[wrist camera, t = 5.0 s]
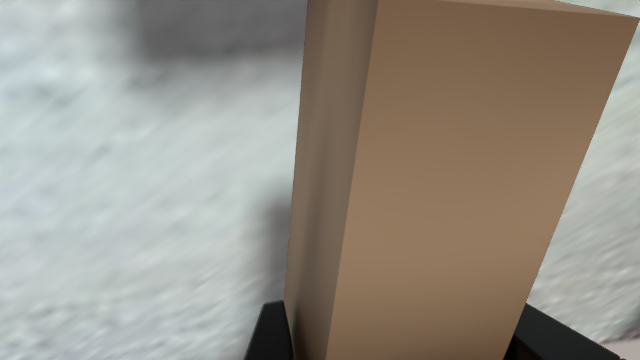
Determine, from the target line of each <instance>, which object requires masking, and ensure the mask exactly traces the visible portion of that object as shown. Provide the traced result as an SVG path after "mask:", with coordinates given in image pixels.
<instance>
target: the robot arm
mask: <svg viewBox="0 0 640 360" xmlns="http://www.w3.org/2000/svg"><path fill="white" fill-rule="evenodd" d="M243 360H295V359H294V352H293V345H292V338H291V333H290V329H289V324H288V319H287V314H286V309H285V304H284V301H283V300H277V301H272V302H267V303H265V304H263V306H262V308H261V311H260V314H259V317H258V320H257V323H256V325H255V328H254V331H253V334H252V337H251V339H250V342H249V345H248V348H247V351H246V354H245V356H244V359H243ZM503 360H626V359H620V357H619V356H618V355H617V354H615V353H613V352H611V351H610V350H608V349H606V348H604V347H603V346H601V345H599V344H597V343H596V342H594V341H592V340H590V339H589V338H587V337H585V336H583V335H582V334H580V333H578V332H576V331H575V330H573V329H571V328H569V327H568V326H566V325H564V324H562V323H560V322H559V321H557V320H555V319H553V318H552V317H550V316H548V315H546V314H545V313H543V312H541V311H539V310H538V309H536V308H534V307H532V306H531V305H529V304H527V303H525V306H524V308H523V311H522V313H521V316H520V318H519V321H518V323H517V326H516V328H515V331H514V333H513V336H512V338H511V341H510V343H509V346H508V348H507V351H506V353H505V356H504V358H503Z"/></svg>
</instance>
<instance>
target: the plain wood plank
mask: <svg viewBox="0 0 640 360" xmlns="http://www.w3.org/2000/svg"><path fill="white" fill-rule="evenodd" d="M639 21H640V18H638V17H634V16H629V15H624V14H619V13H614V12H609V11H604V10H599V9H594V8H589V7H584V6H579V5H574V4H569V3H565V2H560V1H555V0H308V5H307V17H306V30H305V42H304V55H303V67H302V80H301V92H300V105H299V117H298V130H297V142H296V155H295V167H294V180H293V192H292V205H291V217H290V230H289V242H288V255H287V267H286V280H285V292H284V304H285V309H286V314H287V319H288V324H289V329H290V333H291V338H292V345H293V352H294V359H295V360H503V358H504V356H505V353H506V351H507V348H508V346H509V343H510V341H511V338H512V336H513V333H514V331H515V328H516V326H517V323H518V321H519V318H520V316H521V313H522V311H523V308H524V306H525V303H526V301H527V298H528V296H529V294H530V291H531V289H532V286H533V284H534V281H535V279H536V276H537V274H538V271H539V269H540V266H541V264H542V261H543V259H544V256H545V254H546V251H547V249H548V246H549V244H550V241H551V239H552V236H553V234H554V231H555V229H556V227H557V224H558V222H559V219H560V217H561V214H562V212H563V209H564V207H565V204H566V202H567V199H568V197H569V194H570V192H571V189H572V187H573V184H574V182H575V179H576V177H577V174H578V172H579V169H580V167H581V164H582V162H583V160H584V157H585V155H586V152H587V150H588V147H589V145H590V142H591V140H592V137H593V135H594V132H595V130H596V127H597V125H598V122H599V120H600V117H601V115H602V112H603V110H604V107H605V105H606V102H607V100H608V97H609V95H610V92H611V90H612V88H613V85H614V83H615V80H616V78H617V75H618V73H619V70H620V68H621V65H622V63H623V60H624V58H625V55H626V53H627V50H628V48H629V45H630V43H631V40H632V38H633V35H634V33H635V30H636V28H637V25H638V23H639Z"/></svg>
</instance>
